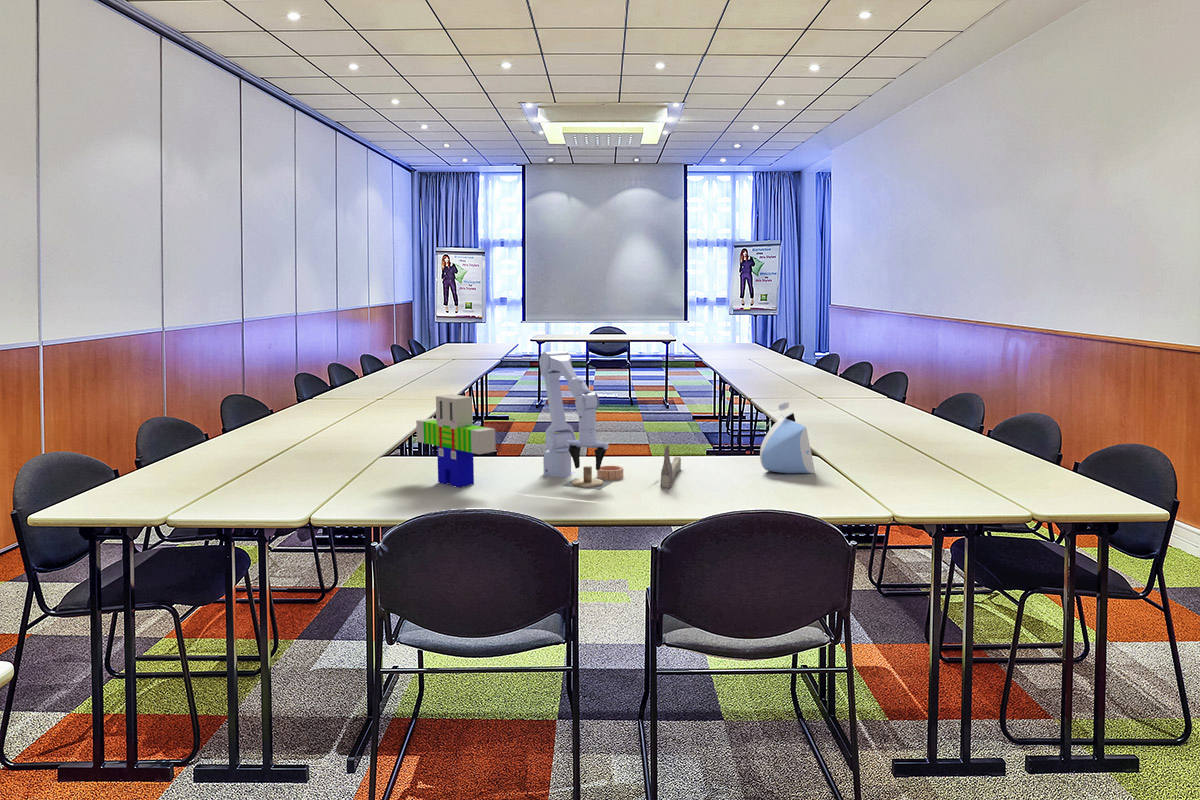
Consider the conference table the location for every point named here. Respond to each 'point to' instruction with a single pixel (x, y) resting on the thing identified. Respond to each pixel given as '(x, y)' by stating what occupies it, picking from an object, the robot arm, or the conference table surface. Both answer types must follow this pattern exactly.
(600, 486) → the mat
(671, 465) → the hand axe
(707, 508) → the conference table surface
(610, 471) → the bowl
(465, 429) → the toy
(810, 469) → the retro desktop computer
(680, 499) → the conference table surface
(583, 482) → the lid
